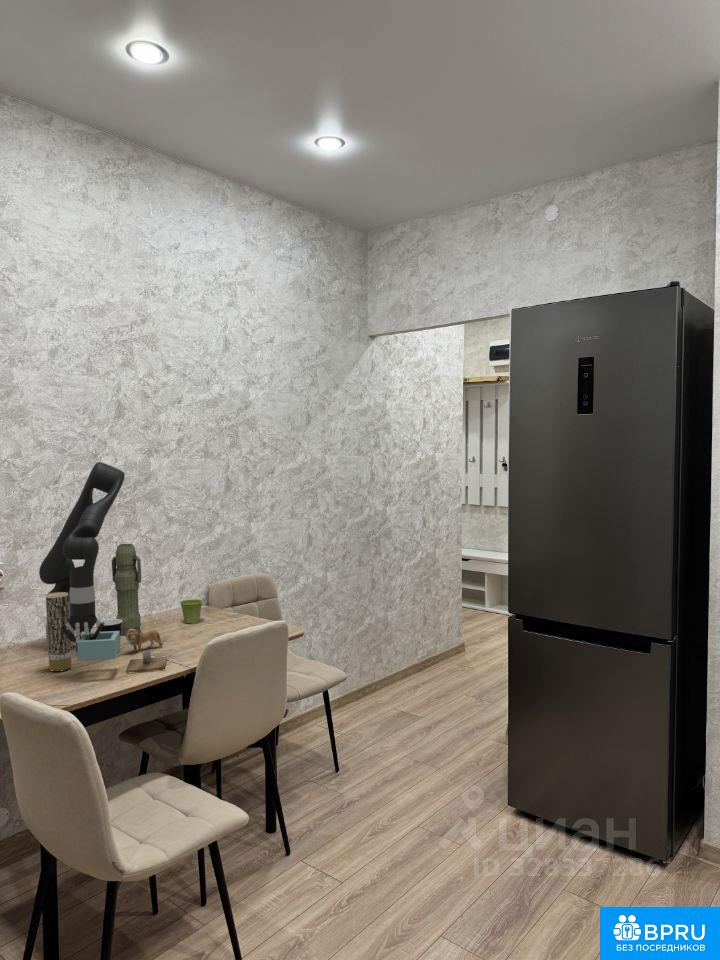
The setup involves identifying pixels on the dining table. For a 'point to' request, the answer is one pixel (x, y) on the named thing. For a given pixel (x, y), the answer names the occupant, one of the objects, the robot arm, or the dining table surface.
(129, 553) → the thermos
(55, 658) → the paper tube
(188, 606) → the plant pot
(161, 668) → the shaft block
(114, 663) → the dining table surface
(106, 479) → the robot arm
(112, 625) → the dixie cup
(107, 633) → the collar
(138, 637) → the lion figurine
